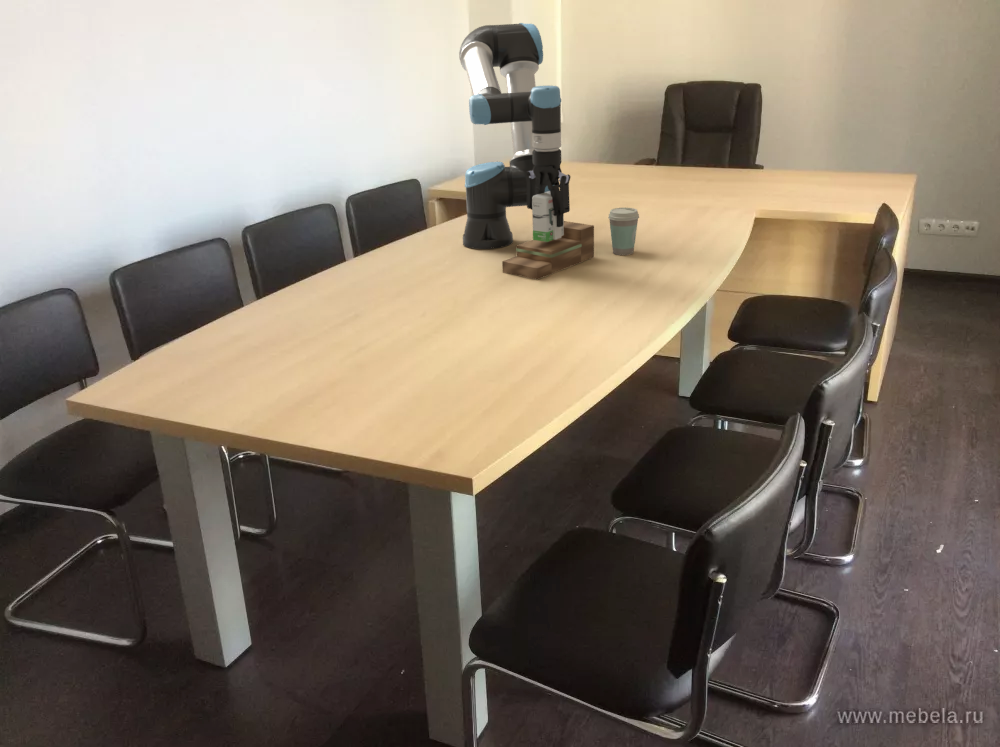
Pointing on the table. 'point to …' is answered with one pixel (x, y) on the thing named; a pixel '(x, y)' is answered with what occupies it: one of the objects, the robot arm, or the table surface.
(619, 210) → the coffee cup
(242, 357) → the table surface
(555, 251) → the stand
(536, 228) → the ink box
